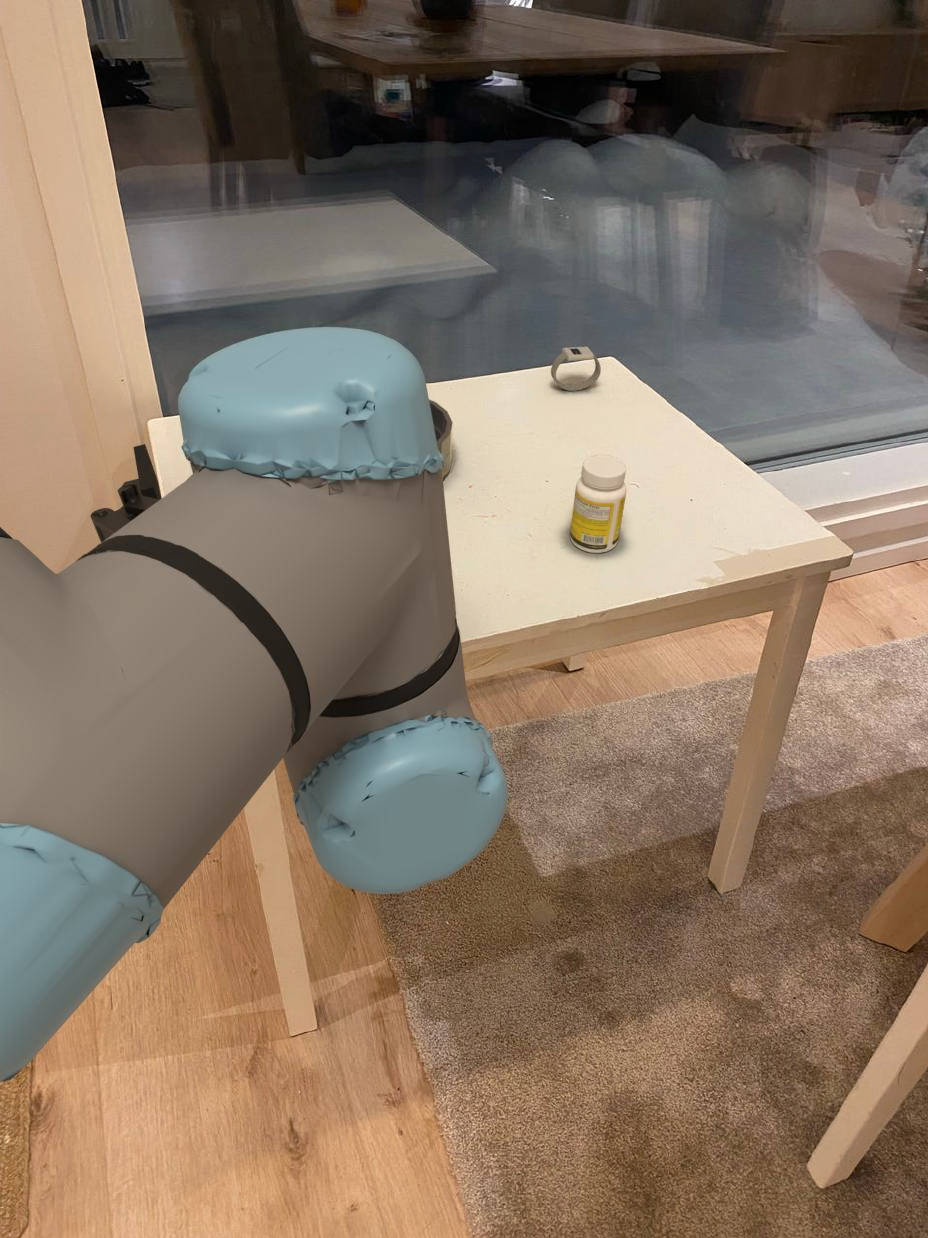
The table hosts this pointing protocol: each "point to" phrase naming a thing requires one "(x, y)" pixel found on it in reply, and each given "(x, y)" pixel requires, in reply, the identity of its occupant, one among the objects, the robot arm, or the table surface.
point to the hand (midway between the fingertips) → (248, 438)
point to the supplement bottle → (598, 504)
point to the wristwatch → (572, 355)
